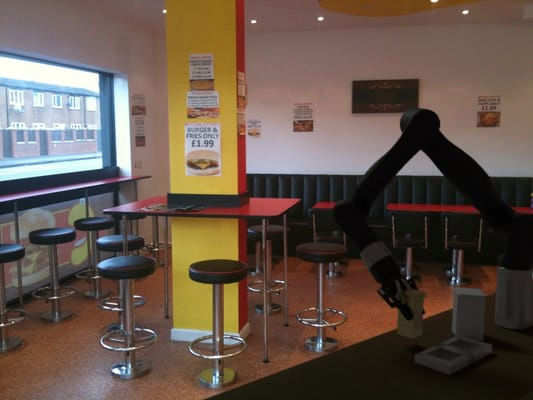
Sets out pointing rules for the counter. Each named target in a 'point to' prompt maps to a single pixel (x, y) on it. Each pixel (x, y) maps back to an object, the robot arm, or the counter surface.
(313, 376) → the counter surface
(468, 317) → the supplement box
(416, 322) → the brown square post
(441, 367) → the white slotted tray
